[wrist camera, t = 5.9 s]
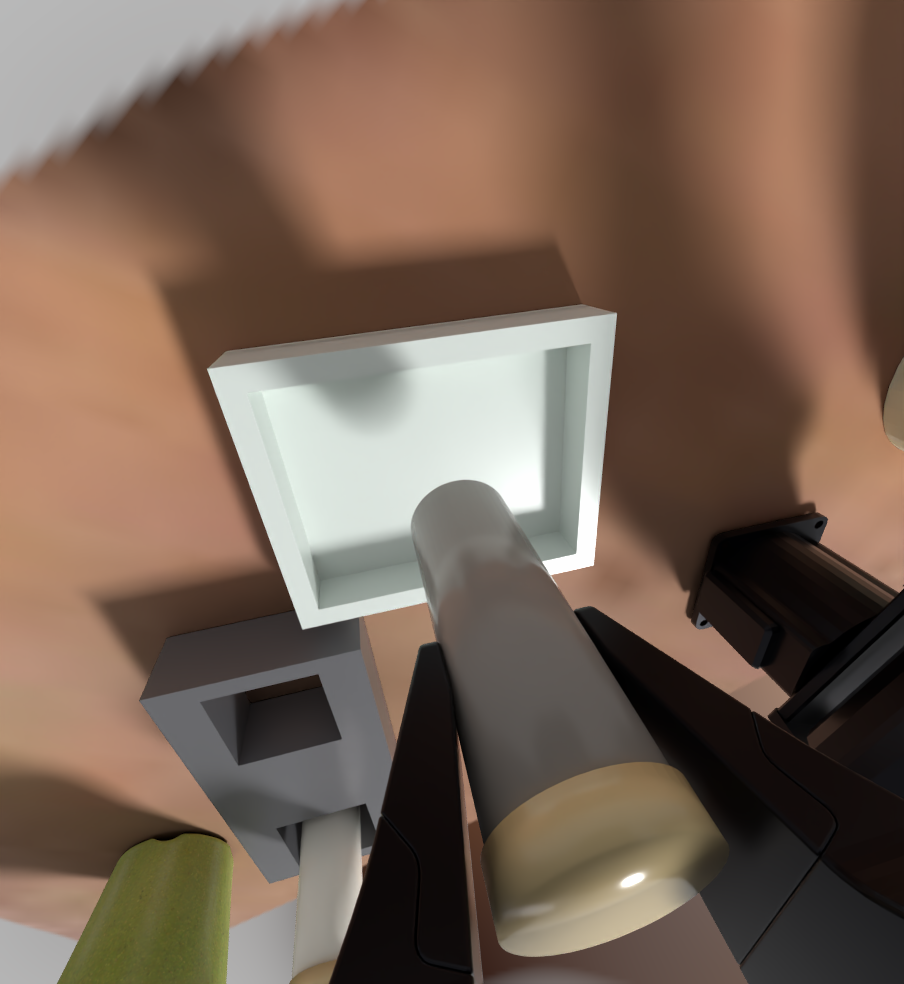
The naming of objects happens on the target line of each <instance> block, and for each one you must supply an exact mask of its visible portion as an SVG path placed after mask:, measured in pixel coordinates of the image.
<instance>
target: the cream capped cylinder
mask: <svg viewBox="0 0 904 984" xmlns="http://www.w3.org/2000/svg"><path fill="white" fill-rule="evenodd" d="M411 535H412V540H413V544H414V548H415V552H416V557H417V561H418V565H419V570H420V574H421V578H422V582H423V587H424V591H425V595H426V599H427V604H428V608H429V612H430V617H431V621H432V625H433V629H434V634H435V638H436V642H438V643H439V644H440V647H441V651H442V655H443V659H444V663H445V667H446V671H447V674H448V678H449V682H450V686H451V691H452V697H453V704H454V712H455V720H456V727H457V732H458V736H459V741H460V745H461V749H462V753H463V758H464V762H465V766H466V770H467V775H468V779H469V783H470V788H471V792H472V796H473V800H474V805H475V809H476V813H477V818H478V822H479V826H480V830H481V835H482V838H483V843H484V846H483V849H482V852H481V866H482V871H483V875H484V880H485V884H486V889H487V893H488V898H489V902H490V907H491V911H492V916H493V920H494V925H495V929H496V933H497V938H498V942H499V944H500V946H501V947H502V948H503V949H504V950H506V951H507V952H510V953H512V954H515V955H521V956H533V957H535V956H550V955H558V954H563V953H569V952H573V951H578V950H581V949H585V948H589V947H592V946H595V945H599V944H602V943H605V942H608V941H610V940H613V939H616V938H619V937H621V936H623V935H626V934H628V933H631V932H633V931H635V930H637V929H640V928H642V927H644V926H646V925H648V924H650V923H652V922H654V921H656V920H658V919H659V918H661V917H663V916H665V915H667V914H668V913H670V912H672V911H673V910H675V909H677V908H678V907H680V906H681V905H683V904H684V903H686V902H687V901H689V900H690V899H691V898H693V897H694V896H695V895H697V894H698V893H699V892H700V891H702V890H703V889H704V888H705V887H706V886H707V885H708V884H709V883H710V882H711V881H712V880H713V879H714V878H715V877H716V876H717V875H718V874H719V872H720V871H721V870H722V868H723V867H724V865H725V864H726V861H727V859H728V856H729V846H728V843H727V842H726V840H725V839H724V837H723V835H722V834H721V832H720V831H719V829H718V828H717V826H716V825H715V823H714V821H713V820H712V818H711V817H710V815H709V814H708V812H707V810H706V809H705V807H704V806H703V804H702V803H701V801H700V800H699V798H698V796H697V795H696V793H695V792H694V790H693V789H692V787H691V785H690V784H689V782H688V781H687V779H686V778H685V776H684V775H683V774H682V773H681V772H680V771H679V770H677V769H675V768H673V767H671V766H670V765H669V764H668V762H667V760H666V759H665V757H664V756H663V754H662V752H661V751H660V749H659V748H658V746H657V744H656V743H655V741H654V740H653V738H652V736H651V735H650V733H649V732H648V730H647V728H646V727H645V725H644V724H643V722H642V720H641V719H640V717H639V716H638V714H637V712H636V711H635V709H634V708H633V706H632V704H631V703H630V701H629V700H628V698H627V696H626V695H625V693H624V692H623V690H622V688H621V687H620V685H619V684H618V682H617V680H616V679H615V677H614V676H613V674H612V672H611V671H610V669H609V668H608V666H607V664H606V663H605V661H604V660H603V658H602V656H601V655H600V653H599V652H598V650H597V648H596V647H595V645H594V644H593V642H592V640H591V639H590V637H589V636H588V634H587V632H586V631H585V629H584V628H583V626H582V624H581V623H580V621H579V620H578V618H577V616H576V615H575V613H574V612H573V610H572V608H571V607H570V605H569V604H568V602H567V600H566V599H565V597H564V596H563V594H562V592H561V591H560V589H559V588H558V586H557V584H556V583H555V581H554V580H553V578H552V576H551V575H550V573H549V572H548V570H547V568H546V567H545V565H544V564H543V562H542V560H541V559H540V557H539V556H538V554H537V552H536V551H535V549H534V547H533V546H532V544H531V543H530V541H529V539H528V538H527V536H526V535H525V533H524V531H523V530H522V528H521V527H520V525H519V523H518V522H517V520H516V519H515V517H514V515H513V514H512V512H511V511H510V509H509V507H508V506H507V504H506V503H505V501H504V499H503V498H502V496H501V495H500V494H499V493H498V492H497V491H496V490H495V489H494V488H493V487H491V486H489V485H488V484H485V483H483V482H479V481H475V480H457V481H452V482H448V483H446V484H443V485H441V486H439V487H437V488H435V489H434V490H432V491H431V492H430V493H428V494H427V495H426V496H425V497H424V498H423V499H422V500H421V501H420V503H419V504H418V506H417V507H416V509H415V511H414V514H413V516H412V520H411Z"/></svg>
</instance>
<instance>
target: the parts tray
mask: <svg viewBox="0 0 904 984" xmlns="http://www.w3.org/2000/svg"><path fill="white" fill-rule="evenodd" d="M616 319H617V313H615V312H611V311H607V310H603V309H599V308H595V307H591V306H587V305H584V304H580V305H573V306H565V307H557V308H550V309H542V310H535V311H527V312H520V313H512V314H504V315H497V316H489V317H482V318H474V319H466V320H459V321H451V322H444V323H436V324H428V325H421V326H413V327H406V328H398V329H390V330H383V331H375V332H368V333H360V334H352V335H345V336H337V337H330V338H322V339H314V340H307V341H299V342H292V343H284V344H276V345H269V346H261V347H254V348H246V349H238V350H231V351H226V352H224V353H223V354H222V355H221V356H220V357H219V358H218V359H217V360H216V361H215V362H214V363H213V364H212V365H211V366H210V367H209V368H208V369H207V370H208V373H209V376H210V378H211V381H212V384H213V387H214V389H215V392H216V395H217V397H218V400H219V403H220V406H221V408H222V411H223V414H224V417H225V419H226V422H227V425H228V427H229V430H230V433H231V436H232V438H233V441H234V444H235V447H236V449H237V452H238V455H239V458H240V460H241V463H242V466H243V468H244V471H245V474H246V477H247V479H248V482H249V485H250V488H251V490H252V493H253V496H254V498H255V501H256V504H257V507H258V509H259V512H260V515H261V518H262V520H263V523H264V526H265V528H266V531H267V534H268V537H269V539H270V542H271V545H272V548H273V550H274V553H275V556H276V558H277V561H278V564H279V567H280V569H281V572H282V575H283V578H284V580H285V583H286V586H287V589H288V591H289V594H290V597H291V599H292V602H293V605H294V608H295V610H296V613H297V616H298V619H299V621H300V624H301V627H302V629H307V628H312V627H317V626H321V625H326V624H330V623H335V622H339V621H344V620H348V619H353V618H357V617H362V616H366V615H371V614H375V613H380V612H384V611H389V610H394V609H398V608H403V607H407V606H412V605H416V604H421V603H425V602H427V599H426V595H425V591H424V587H423V582H422V578H421V574H420V570H419V565H418V561H417V557H416V552H415V548H414V544H413V540H412V535H411V520H412V516H413V514H414V511H415V509H416V507H417V506H418V504H419V503H420V501H421V500H422V499H423V498H424V497H425V496H426V495H427V494H428V493H430V492H431V491H432V490H434V489H435V488H437V487H439V486H441V485H443V484H446V483H448V482H452V481H457V480H475V481H479V482H483V483H485V484H488V485H489V486H491V487H493V488H494V489H495V490H496V491H497V492H498V493H499V494H500V495H501V496H502V498H503V499H504V501H505V503H506V504H507V506H508V507H509V509H510V511H511V512H512V514H513V515H514V517H515V519H516V520H517V522H518V523H519V525H520V527H521V528H522V530H523V531H524V533H525V535H526V536H527V538H528V539H529V541H530V543H531V544H532V546H533V547H534V549H535V551H536V552H537V554H538V556H539V557H540V559H541V560H542V562H543V564H544V565H545V567H546V568H547V570H548V572H549V573H550V575H552V574H557V573H561V572H566V571H570V570H575V569H579V568H584V567H588V566H593V564H594V554H595V543H596V532H597V522H598V511H599V500H600V490H601V479H602V468H603V458H604V447H605V437H606V426H607V415H608V405H609V394H610V383H611V373H612V362H613V351H614V341H615V330H616Z"/></svg>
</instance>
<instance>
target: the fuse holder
mask: <svg viewBox="0 0 904 984" xmlns="http://www.w3.org/2000/svg"><path fill="white" fill-rule="evenodd" d="M317 674H318V675H319V677H320V680H321V683H322V686H323V687H318V688H314V689H310V690H306V691H302V692H298V693H293V694H289V695H285V696H281V697H277V698H273V699H268V700H264V701H260V702H256V703H252V704H250V702H249V700H248V698H247V696H246V694H245V692H244V691H249V690H253V689H257V688H261V687H266V686H270V685H274V684H278V683H283V682H287V681H291V680H295V679H300V678H304V677H308V676H312V675H317ZM139 701H140V703H141V704H142V705H143V707H144V708H145V710H146V711H147V712H148V714H149V715H150V717H151V718H152V719H153V721H154V722H155V724H156V725H157V726H158V728H159V729H160V731H161V732H162V733H163V735H164V736H165V738H166V739H167V740H168V742H169V743H170V745H171V746H172V747H173V749H174V750H175V752H176V753H177V754H178V756H179V757H180V759H181V760H182V762H183V763H184V764H185V766H186V767H187V769H188V770H189V771H190V773H191V774H192V776H193V777H194V778H195V780H196V781H197V783H198V784H199V785H200V787H201V788H202V790H203V791H204V792H205V794H206V795H207V797H208V798H209V799H210V801H211V802H212V804H213V805H214V806H215V808H216V809H217V811H218V812H219V813H220V815H221V816H222V818H223V819H224V820H225V822H226V823H227V825H228V826H229V827H230V829H231V830H232V832H233V833H234V835H235V836H236V837H237V839H238V840H239V842H240V843H241V844H242V846H243V847H244V849H245V850H246V851H247V853H248V854H249V856H250V857H251V858H252V860H253V861H254V863H255V864H256V865H257V867H258V868H259V870H260V871H261V872H262V874H263V875H264V877H265V878H266V879H267V881H268V882H269V884H270V883H273V882H277V881H280V880H283V879H287V878H290V877H294V876H297V875H299V866H300V851H301V837H302V822H303V821H305V820H308V819H312V818H315V817H319V816H323V815H326V814H330V813H333V812H337V811H340V810H344V809H348V808H351V807H355V806H358V805H360V824H361V855H362V856H364V855H368V854H370V852H371V849H372V845H373V841H374V837H375V833H376V828H377V824H378V820H379V817H380V816H381V808H382V804H383V800H384V795H385V791H386V787H387V783H388V778H389V774H390V770H391V766H392V761H393V757H394V753H395V748H396V744H397V743H396V739H395V736H394V732H393V728H392V724H391V720H390V717H389V713H388V709H387V705H386V701H385V698H384V694H383V690H382V686H381V682H380V678H379V675H378V671H377V667H376V663H375V659H374V656H373V652H372V648H371V644H370V640H369V637H368V633H367V629H366V625H365V621H364V618H363V616H362V617H357V618H353V619H348V620H344V621H339V622H335V623H330V624H326V625H321V626H317V627H312V628H307V629H302V627H301V624H300V621H299V619H298V616H297V613H296V610H294V611H290V612H285V613H280V614H276V615H271V616H266V617H262V618H257V619H252V620H248V621H243V622H238V623H234V624H229V625H224V626H220V627H215V628H210V629H206V630H201V631H196V632H192V633H187V634H182V635H178V636H173V637H168V638H167V639H166V641H165V643H164V645H163V648H162V650H161V652H160V655H159V657H158V659H157V661H156V664H155V666H154V668H153V670H152V673H151V675H150V677H149V679H148V682H147V684H146V686H145V689H144V691H143V693H142V695H141V698H140V700H139Z"/></svg>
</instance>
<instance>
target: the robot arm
mask: <svg viewBox="0 0 904 984" xmlns="http://www.w3.org/2000/svg"><path fill="white" fill-rule="evenodd" d="M827 521H828V519H827V517H825V516H823V515H821V514H820V513H811V514H807V515H802V516H798V517H793V518H788V519H784V520H779V521H775V522H770V523H766V524H761V525H757V526H752V527H747V528H743V529H738V530H734V531H729V532H725V533H721V534H718V535H717V536H716V537H715V538H714V539H713V540H712V542H711V545H710V549H709V553H708V557H707V561H706V565H705V569H704V573H703V576H702V580H701V584H700V588H699V592H698V596H697V600H696V604H695V607H694V611H693V615H692V619H691V622H692V624H693V625H694V626H695V627H696V628H697V629H705V628H708V627H712V626H713V627H714V628H715V629H716V630H717V631H718V632H719V633H720V634H721V635H722V636H723V638H724V639H725V640H726V641H727V642H728V643H729V644H730V645H731V646H732V647H733V648H734V649H735V650H736V651H737V652H738V653H739V654H740V655H741V656H742V657H743V658H744V659H745V660H746V661H747V662H748V663H749V664H750V665H751V666H752V667H754V668H755V669H759V668H762V669H763V670H764V671H765V672H766V673H767V674H768V675H769V676H770V677H771V678H772V679H773V680H774V681H775V682H776V683H777V684H778V685H779V686H780V687H781V688H782V689H783V690H784V692H786V693H787V695H788V696H789V697H790V698H789V699H788V700H787V701H786V702H785V703H784V704H783V705H782V706H781V707H780V708H775V709H774V710H773V711H772V712H771V713H770V714H769V715H768V718H769V720H770V721H771V722H770V721H769V720H767V719H766V718H764V717H762V716H761V715H759V714H758V713H756V712H754V711H753V712H751V710H750V708H748V707H747V706H745V705H744V704H742V703H741V702H739V701H738V700H736V699H734V698H733V697H731V696H730V695H728V694H727V693H725V692H724V691H722V690H721V689H719V688H718V687H716V686H714V685H713V684H711V683H710V682H708V681H707V680H705V679H704V678H702V677H701V676H699V675H698V674H696V673H694V672H693V671H691V670H690V669H688V668H687V667H685V666H684V665H682V664H681V663H679V662H677V661H676V660H674V659H673V658H671V657H670V656H668V655H667V654H665V653H664V652H662V651H661V650H659V649H657V648H656V647H654V646H653V645H651V644H650V643H648V642H647V641H645V640H644V639H642V638H641V637H639V636H637V635H636V634H634V633H633V632H631V631H630V630H628V629H627V628H625V627H624V626H622V625H620V624H619V623H617V622H616V621H614V620H613V619H611V618H610V617H608V616H607V615H605V614H604V613H602V612H600V611H599V610H597V609H596V608H594V607H591V606H588V607H583V608H579V609H576V610H574V613H575V615H576V616H577V618H578V620H579V621H580V623H581V624H582V626H583V628H584V629H585V631H586V632H587V634H588V636H589V637H590V639H591V640H592V642H593V644H594V645H595V647H596V648H597V650H598V652H599V653H600V655H601V656H602V658H603V660H604V661H605V663H606V664H607V666H608V668H609V669H610V671H611V672H612V674H613V676H614V677H615V679H616V680H617V682H618V684H619V685H620V687H621V688H622V690H623V692H624V693H625V695H626V696H627V698H628V700H629V701H630V703H631V704H632V706H633V708H634V709H635V711H636V712H637V714H638V716H639V717H640V719H641V720H642V722H643V724H644V725H645V727H646V728H647V730H648V732H649V733H650V735H651V736H652V738H653V740H654V741H655V743H656V744H657V746H658V748H659V749H660V751H661V752H662V754H663V756H664V757H665V759H666V760H667V762H668V764H669V765H670V766H671V767H673V768H675V769H677V770H679V771H680V772H681V773H682V774H683V775H684V776H685V778H686V779H687V781H688V782H689V784H690V785H691V787H692V789H693V790H694V792H695V793H696V795H697V796H698V798H699V800H700V801H701V803H702V804H703V806H704V807H705V809H706V810H707V812H708V814H709V815H710V817H711V818H712V820H713V821H714V823H715V825H716V826H717V828H718V829H719V831H720V832H721V834H722V835H723V837H724V839H725V840H726V842H727V843H728V846H729V856H728V859H727V861H726V864H725V865H724V867H723V868H722V870H721V871H720V872H719V874H718V875H717V876H716V877H715V878H714V879H713V880H712V881H711V882H710V883H709V884H708V885H707V886H706V887H705V888H704V889H703V890H702V891H700V892H699V893H700V895H701V897H702V899H703V901H704V903H705V905H706V906H707V908H708V910H709V912H710V913H711V916H712V917H713V919H714V921H715V923H716V925H717V927H718V928H719V930H720V932H721V934H722V936H723V937H724V939H725V941H726V943H727V945H728V947H729V949H730V950H731V952H732V954H733V956H734V958H735V959H736V961H737V963H738V964H740V969H741V971H742V973H743V975H744V977H745V978H746V980H747V982H748V984H904V589H903V590H902V591H901V592H900V593H898V592H897V591H895V590H894V589H892V588H890V587H889V586H887V585H886V584H884V583H882V582H881V581H879V580H878V579H876V578H875V577H873V576H871V575H870V574H868V573H867V572H865V571H863V570H862V569H860V568H859V567H857V566H855V565H854V564H852V563H851V562H849V561H847V560H846V559H844V558H843V557H841V556H840V555H838V554H836V553H835V552H833V551H832V550H830V549H828V548H827V547H825V546H824V545H822V544H820V543H819V541H820V539H821V536H822V534H823V532H824V529H825V527H826V524H827ZM903 586H904V585H903ZM329 984H483V976H482V967H481V957H480V946H479V936H478V926H477V916H476V905H475V896H474V886H473V875H472V865H471V855H470V845H469V835H468V824H467V814H466V804H465V794H464V784H463V774H462V764H461V755H460V748H459V740H458V733H457V727H456V720H455V712H454V704H453V697H452V691H451V686H450V682H449V678H448V674H447V671H446V667H445V663H444V659H443V655H442V651H441V647H440V644H439V643H438V642H432V643H427V644H423V645H421V646H420V648H419V650H418V655H417V659H416V663H415V668H414V672H413V676H412V680H411V685H410V689H409V693H408V697H407V702H406V706H405V710H404V714H403V719H402V723H401V727H400V731H399V736H398V740H397V744H396V748H395V753H394V757H393V761H392V766H391V770H390V774H389V778H388V783H387V787H386V791H385V795H384V800H383V804H382V808H381V816H380V817H379V820H378V824H377V828H376V833H375V837H374V841H373V845H372V849H371V852H370V856H369V860H368V864H367V868H366V872H365V875H364V879H363V882H362V885H361V888H360V891H359V895H358V898H357V901H356V904H355V907H354V911H353V914H352V917H351V920H350V923H349V926H348V929H347V932H346V935H345V937H344V940H343V943H342V946H341V949H340V952H339V955H338V958H337V961H336V964H335V966H334V969H333V972H332V975H331V978H330V981H329Z"/></svg>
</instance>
